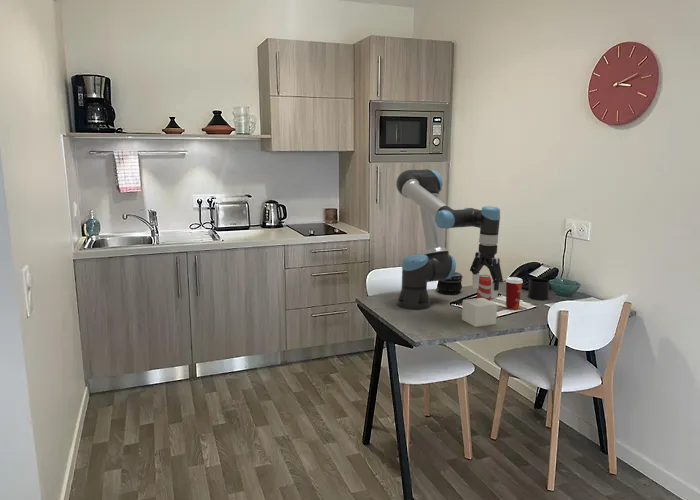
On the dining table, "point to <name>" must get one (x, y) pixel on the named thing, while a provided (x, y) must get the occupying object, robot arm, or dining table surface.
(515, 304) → the paper cup
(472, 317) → the plain off-white cube
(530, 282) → the mug
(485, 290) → the beverage can
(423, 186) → the robot arm
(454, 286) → the container
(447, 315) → the dining table surface
